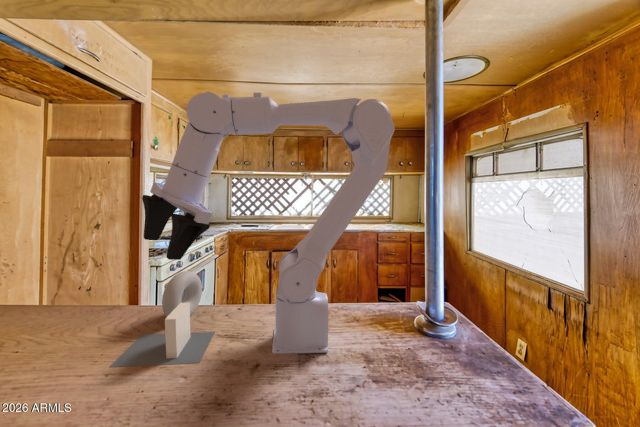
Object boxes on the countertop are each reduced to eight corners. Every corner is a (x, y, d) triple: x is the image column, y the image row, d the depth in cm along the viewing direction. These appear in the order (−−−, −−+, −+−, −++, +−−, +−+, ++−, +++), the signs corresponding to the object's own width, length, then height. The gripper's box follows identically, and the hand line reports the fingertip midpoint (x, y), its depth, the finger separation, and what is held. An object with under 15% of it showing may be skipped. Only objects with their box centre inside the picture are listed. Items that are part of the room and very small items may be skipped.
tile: (190, 337, 49) (189, 302, 49) (176, 357, 44) (175, 319, 43) (181, 337, 49) (180, 302, 49) (166, 358, 43) (164, 319, 43)
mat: (215, 333, 51) (215, 331, 51) (199, 365, 42) (199, 362, 42) (141, 336, 50) (141, 334, 50) (109, 369, 41) (109, 366, 41)
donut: (174, 331, 52) (172, 281, 51) (158, 329, 52) (156, 279, 51) (206, 308, 62) (205, 265, 60) (192, 307, 62) (191, 264, 61)
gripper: (144, 151, 44) (115, 229, 45) (194, 176, 37) (159, 269, 37) (184, 164, 50) (158, 233, 51) (233, 188, 43) (203, 268, 43)
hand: (161, 248), depth 44 cm, fingers open, 7 cm apart
